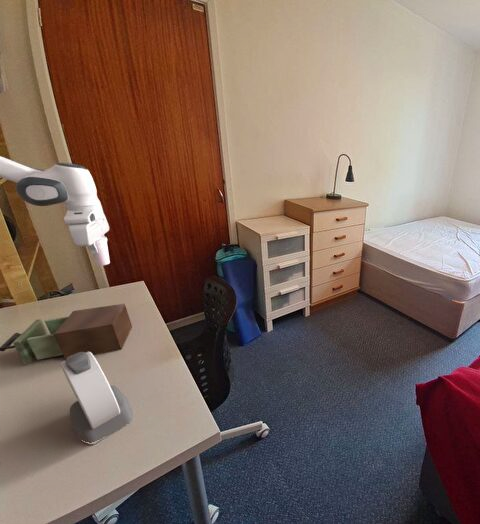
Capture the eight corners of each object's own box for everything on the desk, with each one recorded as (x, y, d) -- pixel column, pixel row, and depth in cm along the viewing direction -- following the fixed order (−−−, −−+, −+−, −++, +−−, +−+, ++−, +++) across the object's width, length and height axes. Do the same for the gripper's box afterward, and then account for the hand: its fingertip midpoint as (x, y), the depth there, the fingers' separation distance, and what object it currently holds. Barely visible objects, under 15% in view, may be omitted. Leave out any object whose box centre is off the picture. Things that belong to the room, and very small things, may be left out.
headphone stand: (141, 421, 66) (119, 362, 59) (85, 457, 59) (51, 393, 51) (118, 387, 75) (95, 331, 68) (66, 414, 67) (35, 354, 60)
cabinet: (65, 360, 83) (53, 334, 79) (83, 335, 94) (73, 310, 90) (121, 349, 88) (112, 324, 84) (132, 326, 99) (124, 303, 95)
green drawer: (1, 368, 78) (-13, 346, 75) (25, 343, 88) (14, 322, 85) (80, 353, 84) (71, 332, 81) (94, 331, 94) (87, 312, 91)
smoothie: (87, 265, 102) (74, 228, 97) (105, 259, 108) (94, 224, 102) (101, 268, 101) (88, 230, 95) (118, 261, 107) (107, 226, 101)
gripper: (87, 206, 104) (98, 241, 110) (60, 220, 87) (75, 261, 93) (108, 206, 107) (118, 240, 112) (86, 219, 89) (99, 259, 95)
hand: (98, 250), depth 102 cm, fingers closed on smoothie, 5 cm apart
